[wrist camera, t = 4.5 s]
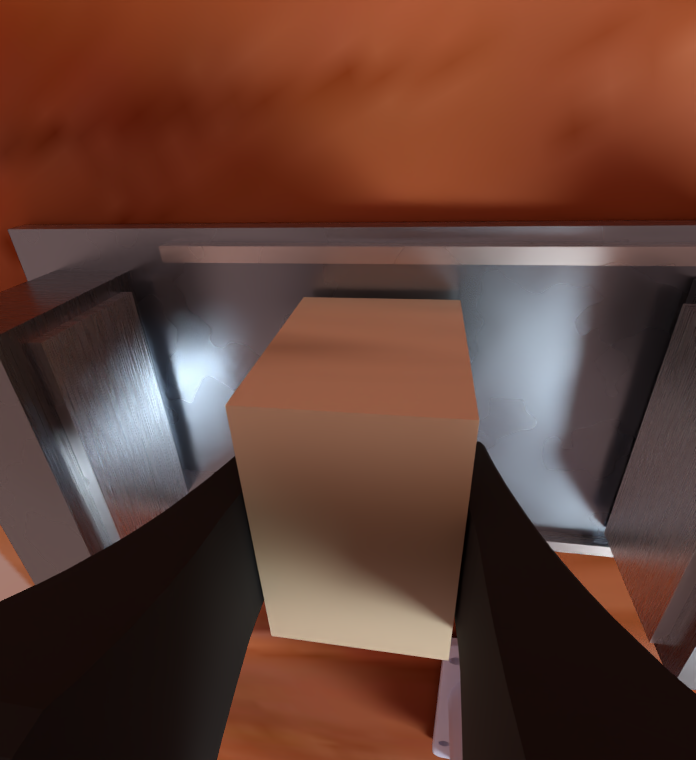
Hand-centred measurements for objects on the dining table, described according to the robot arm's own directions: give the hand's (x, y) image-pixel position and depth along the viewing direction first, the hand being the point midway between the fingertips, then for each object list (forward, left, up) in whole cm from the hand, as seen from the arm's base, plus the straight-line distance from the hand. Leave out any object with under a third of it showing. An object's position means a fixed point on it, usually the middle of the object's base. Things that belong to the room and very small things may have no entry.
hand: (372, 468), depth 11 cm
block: (0, 0, -2) cm, 2 cm away
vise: (0, 0, -3) cm, 3 cm away
